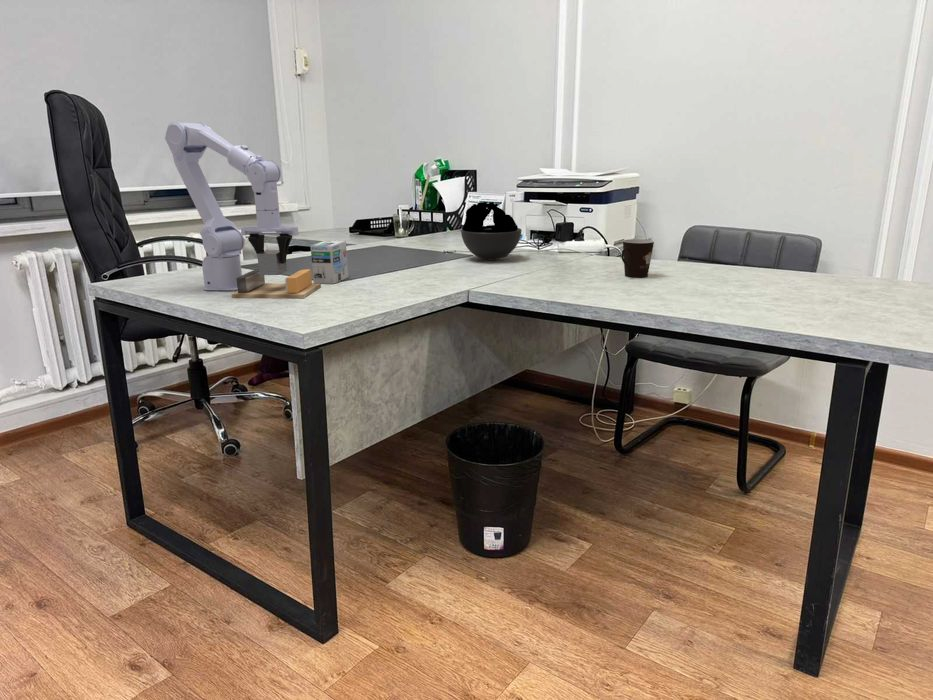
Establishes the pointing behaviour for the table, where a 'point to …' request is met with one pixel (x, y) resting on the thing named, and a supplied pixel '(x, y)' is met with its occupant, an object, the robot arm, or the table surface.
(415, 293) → the table surface
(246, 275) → the vise
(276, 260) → the steel block
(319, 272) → the light bulb box
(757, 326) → the table surface
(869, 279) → the table surface
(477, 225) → the coal bowl
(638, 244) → the coffee mug
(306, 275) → the block
